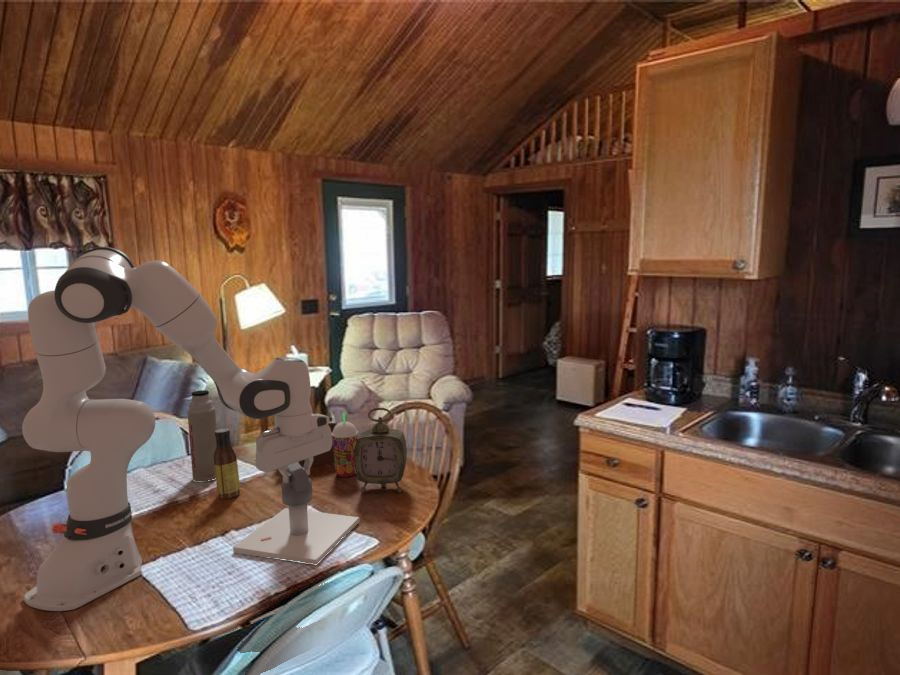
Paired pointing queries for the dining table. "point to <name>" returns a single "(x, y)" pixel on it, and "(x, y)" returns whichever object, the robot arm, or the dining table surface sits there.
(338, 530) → the base
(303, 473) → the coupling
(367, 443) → the tabletop clock
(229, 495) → the sauce bottle
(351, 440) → the smoothie
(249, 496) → the dining table surface
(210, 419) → the thermos bottle
